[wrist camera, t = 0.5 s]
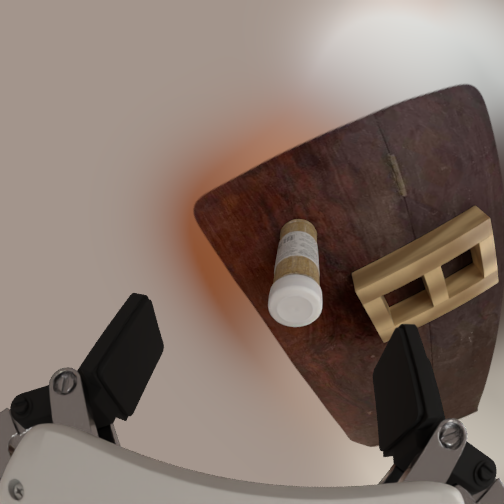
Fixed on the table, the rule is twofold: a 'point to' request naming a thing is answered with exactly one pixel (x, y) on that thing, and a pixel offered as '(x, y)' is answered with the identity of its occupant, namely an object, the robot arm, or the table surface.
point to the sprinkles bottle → (296, 276)
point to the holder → (430, 273)
